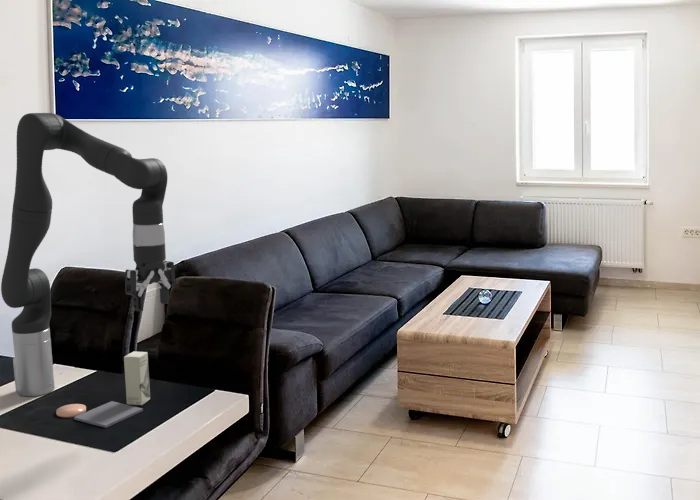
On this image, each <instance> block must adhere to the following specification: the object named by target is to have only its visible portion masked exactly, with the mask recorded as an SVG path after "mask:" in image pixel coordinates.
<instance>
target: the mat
mask: <svg viewBox="0 0 700 500" xmlns="http://www.w3.org/2000/svg"><path fill="white" fill-rule="evenodd" d="M143 411H144V408H142V407H138V406H135V405H129V404H127V403H121V402H117V401H113V400H111V401H109V402H106V403H104V404H101V405H99V406H97V407H95V408H92V409H90V410H88V411H87V410H86V412H85V413H83V414H80V415H78V416H75V417H73V419H74V421H78V422H83V423H86V424H90V425H93V426H97V427H102V428H105V429H107V428H109V427H111V426H113V425H115V424H118V423H119V422H122V421H124V420H126V419H128V418H130V417H133V416H135V415H137V414H139V413H142V412H143Z"/></svg>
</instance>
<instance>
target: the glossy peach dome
mask: <svg viewBox="0 0 700 500" xmlns="http://www.w3.org/2000/svg"><path fill="white" fill-rule="evenodd" d="M55 412H56V414H55V415H56V416H57V417H59V418H74V417H75V416H78V415H80V414H83V413H85V412H87V406H86V405H85V404H83V403H70V404H65V405H63V406H60V407H58V408H56V410H55Z"/></svg>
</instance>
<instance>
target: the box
mask: <svg viewBox="0 0 700 500" xmlns="http://www.w3.org/2000/svg"><path fill="white" fill-rule="evenodd" d="M148 354H149V353H148V351H132V352H130V353H128V354H126V355H125V356H123V362H124V363H123V365H124V366H123V368H124V379H125V381H124V382H125V395H126V405H130V406H143V405H144V404H146V403H147V402H149V400H151V385H150V371H149V356H148Z"/></svg>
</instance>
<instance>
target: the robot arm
mask: <svg viewBox="0 0 700 500" xmlns="http://www.w3.org/2000/svg"><path fill="white" fill-rule="evenodd" d="M53 150H63V151H67V152H71V153H73V154H76V155H78V156H79V157H80V158H82V160H84V161H85V162H86V163H87V164H88V165H89V166H91V167H92V168H94V169H96V170H98V171H101V172H103V173H106V174H108V175H110V176H113V177H114V178H116V179H117V180H118V181H119V182H121V183H122V184H123V185H125V186H127V187H129V188H131V189H135V190H141V194H140V196H139V198H137V199H136V200H134V201H133V203H132V209H131V210H132V248H133V249H132V252H133V255H132V256H133V261H134V263H135V269H125V271H124V292H125V294H126V295H130V296H131V297H132V306H133V310H134V311H135V312H139V313H140V312H143V311H144V299H143V298H144V297H143V293H144V291H145V289H147V288H148V287H149V285H153V283H157V285H158V286H159V287H160V288H159V300H160V301H159V302H160V303H161V304H164V305H168V304H169V301H170V288H171V287H172V286H175V285H176V272H175V263H174V262H173V261H170V260H169V261H168V260H166V258H167V257H166V236H165V233H166V232H165V225H164V211H163V205H164V201H165V196H166V192H167V191H166V190H167V186H168V171H167V168H166V165H165V164H164V163H163V161H162V160H160V159H159V158H135V157H133V156H132V154H131V152H129V150H127V149H125V148H123V147H121V146H118V145H116V144H114V143H111V142H109V141H108V142H107V141H105V140H104V139H100V138H98V137H96V136H94V135H92V134H90V133H89V132H86V131H84V130H83V129H82V128H80V127H78V126H77V125H75V124H73V123H72V122H70V121H69V120H67V119H66V118H64V117H62V116H61V115H59V114H56V113H52V112H32V113H31V112H30V113H25V114H24V115H23V116H21V118H20V119H19V122H18V123H17V129H16V169H15V170H16V172H15V174H16V175H15V185H14V186H15V187H14V194H13V195H14V196H13V202H12V212H11V223H10V234H9V239H8V240H9V241H8V248H7V255H6V260H5V264H4V269H3V273H2V276H1V277H2V278H1V286H0V292H1V298H2V300H3V302H4V303H5V304H6V306H7V307H9V308H13V309H17V308H22V310H21V312H20V313H19V314H18V315H17V316H16V317H14V318H13V320H12V321H11V330H12V331H11V334H12V342H13V343H12V344H13V345H12V346H13V354H14V355H13V358H12V363H13V374H14V385H15V392H17V394H18V395H19V396H23V397H36V396H37V397H38V396H42V395H46V394H49V393H51V392H53V391H54V389H56V388H55V379H54V377H55V376H54V366H53V365H54V363H53V354H52V351H53V350H52V338H51V329H50V321H51V318H52V294H51V293H52V292H51V291H52V290H51V283H50V280H49V277H48V275H47V274H46V273H45V271H44V270H42V269H40V268H37V267H35V268H30V267H31V263H32V260H33V257H34V255H35V253H36V251H37V249H38V248H39V246H40V245H41V243H42V242H43V241H44V239H45V237H46V235H47V233H48V231H49V229H50V226H51V220H52V212H53V199H52V195H51V193H50V190H49V187H48V185H47V183H46V180H45V179H44V175H43V160H44V159H43V156H44V152H45V151H53Z"/></svg>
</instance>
